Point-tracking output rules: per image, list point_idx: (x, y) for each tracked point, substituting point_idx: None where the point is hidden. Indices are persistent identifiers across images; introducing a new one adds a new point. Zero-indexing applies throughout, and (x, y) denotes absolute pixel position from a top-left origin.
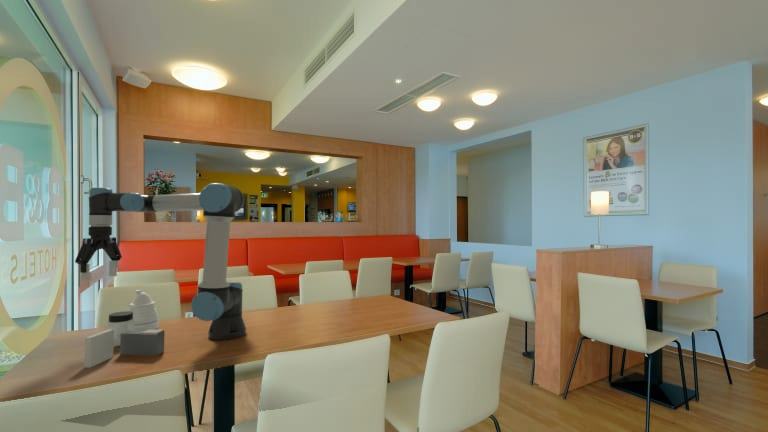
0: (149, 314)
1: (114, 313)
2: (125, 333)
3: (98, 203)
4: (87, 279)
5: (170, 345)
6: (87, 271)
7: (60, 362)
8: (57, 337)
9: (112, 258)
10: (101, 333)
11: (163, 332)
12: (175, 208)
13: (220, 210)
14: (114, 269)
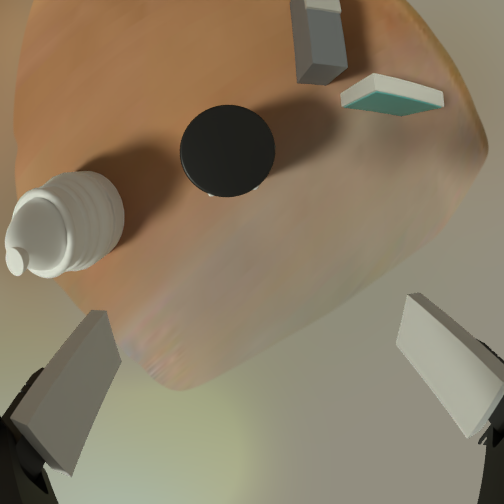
0: (69, 181)
1: (228, 182)
2: (345, 54)
3: None
4: (427, 300)
5: (237, 12)
6: (468, 336)
7: (381, 195)
8: (203, 371)
9: (33, 478)
10: (412, 85)
11: None
12: None
13: None
14: (79, 358)
